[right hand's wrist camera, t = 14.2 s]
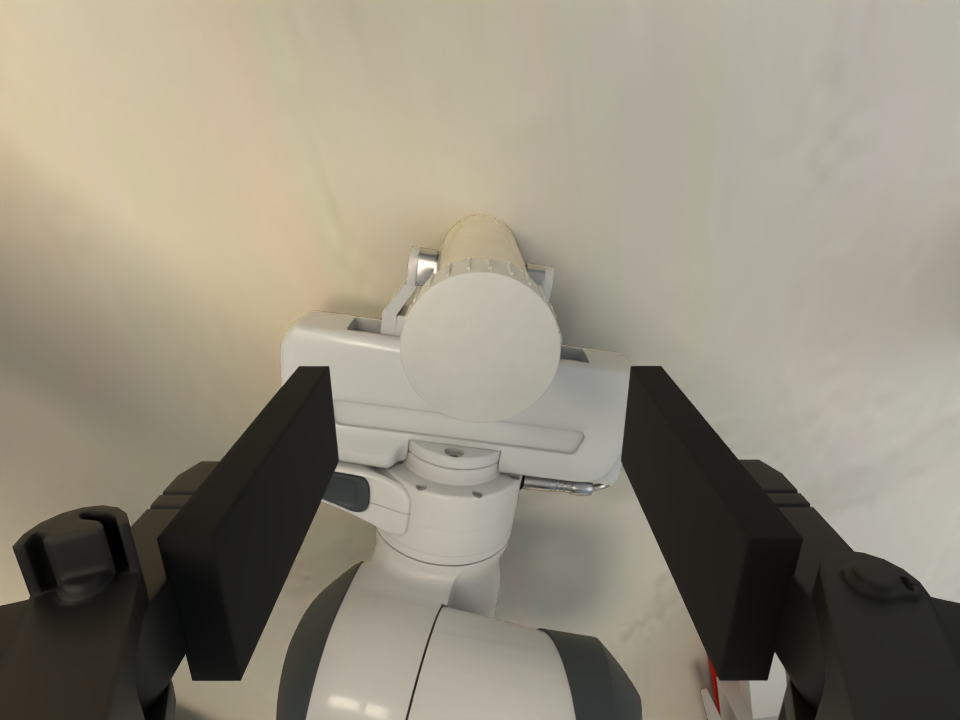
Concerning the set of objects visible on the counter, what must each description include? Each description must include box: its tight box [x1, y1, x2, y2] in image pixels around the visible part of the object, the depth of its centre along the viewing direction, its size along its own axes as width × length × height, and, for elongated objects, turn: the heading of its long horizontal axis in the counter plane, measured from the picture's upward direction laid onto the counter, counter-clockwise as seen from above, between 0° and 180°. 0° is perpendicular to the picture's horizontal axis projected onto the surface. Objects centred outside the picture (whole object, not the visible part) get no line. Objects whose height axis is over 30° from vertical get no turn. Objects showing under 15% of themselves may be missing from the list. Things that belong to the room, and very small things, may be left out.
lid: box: [400, 257, 561, 423], centre depth 20 cm, size 6×6×2 cm
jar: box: [433, 215, 530, 277], centre depth 28 cm, size 5×5×18 cm
